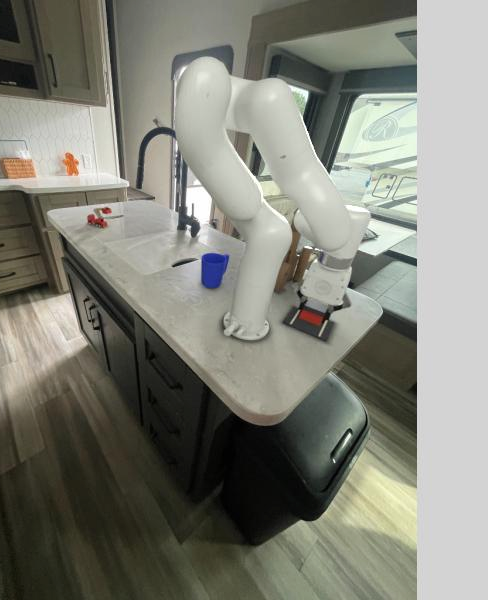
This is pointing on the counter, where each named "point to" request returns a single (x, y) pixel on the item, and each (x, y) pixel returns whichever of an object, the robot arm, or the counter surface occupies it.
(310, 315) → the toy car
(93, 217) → the toy fire truck
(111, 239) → the counter surface
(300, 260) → the wooden toy
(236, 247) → the counter surface
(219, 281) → the mug
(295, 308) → the mat
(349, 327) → the counter surface
